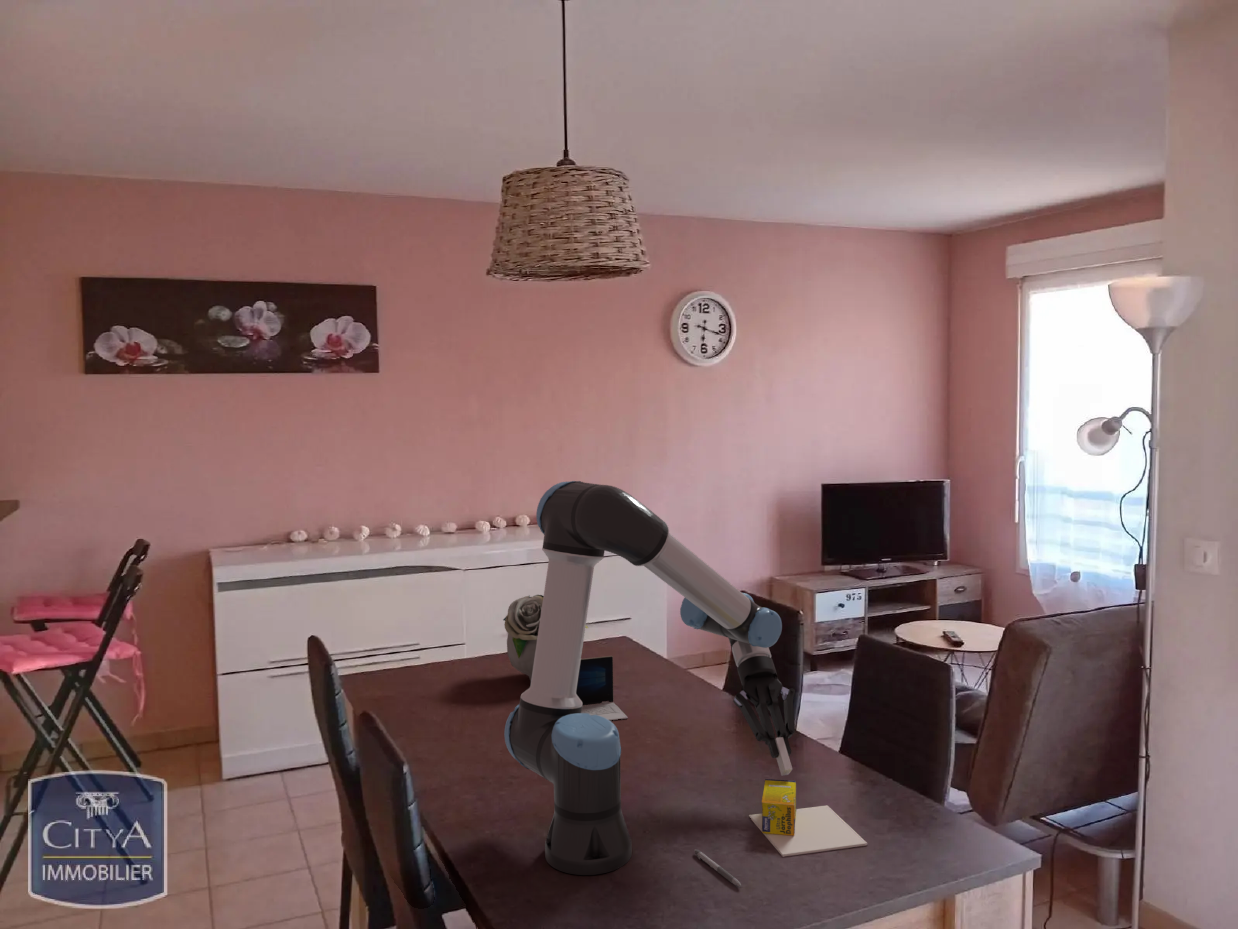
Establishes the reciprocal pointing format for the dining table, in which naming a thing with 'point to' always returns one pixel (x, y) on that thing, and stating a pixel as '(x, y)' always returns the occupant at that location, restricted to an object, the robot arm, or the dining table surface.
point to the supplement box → (779, 807)
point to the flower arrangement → (523, 632)
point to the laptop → (598, 688)
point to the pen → (717, 868)
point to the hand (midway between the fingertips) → (786, 772)
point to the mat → (813, 832)
